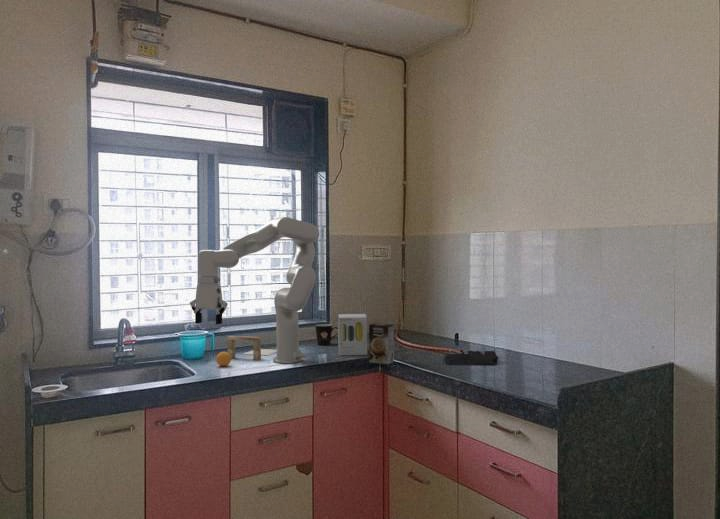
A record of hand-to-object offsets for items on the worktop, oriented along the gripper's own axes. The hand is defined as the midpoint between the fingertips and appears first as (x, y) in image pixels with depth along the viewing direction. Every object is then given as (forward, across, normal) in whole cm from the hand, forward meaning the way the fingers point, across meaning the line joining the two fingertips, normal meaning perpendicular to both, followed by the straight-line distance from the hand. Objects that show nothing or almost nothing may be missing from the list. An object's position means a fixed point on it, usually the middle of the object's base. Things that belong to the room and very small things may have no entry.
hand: (208, 323), depth 208 cm
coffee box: (+18, -61, -36) cm, 73 cm away
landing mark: (+18, 0, -41) cm, 45 cm away
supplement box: (+19, -41, -52) cm, 69 cm away
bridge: (+19, 0, -25) cm, 31 cm away
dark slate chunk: (+19, -96, -48) cm, 109 cm away
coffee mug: (+18, -21, -69) cm, 74 cm away
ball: (+16, -1, -9) cm, 18 cm away
